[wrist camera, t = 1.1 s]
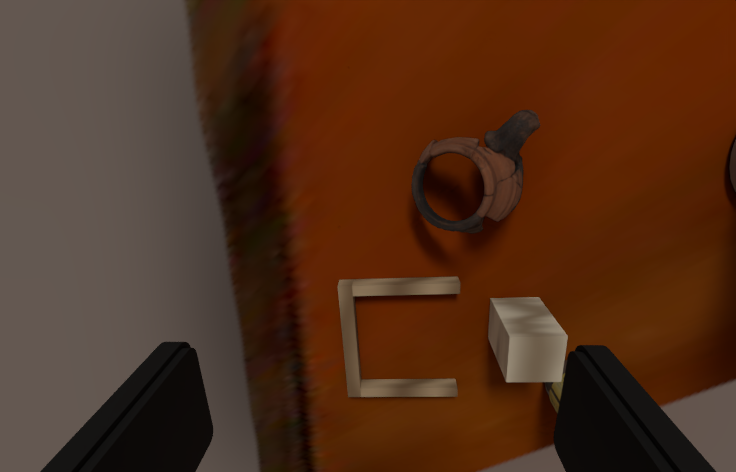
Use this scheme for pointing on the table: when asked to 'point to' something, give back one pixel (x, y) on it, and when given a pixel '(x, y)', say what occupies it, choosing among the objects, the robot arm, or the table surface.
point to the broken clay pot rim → (483, 171)
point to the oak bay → (350, 336)
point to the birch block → (526, 340)
